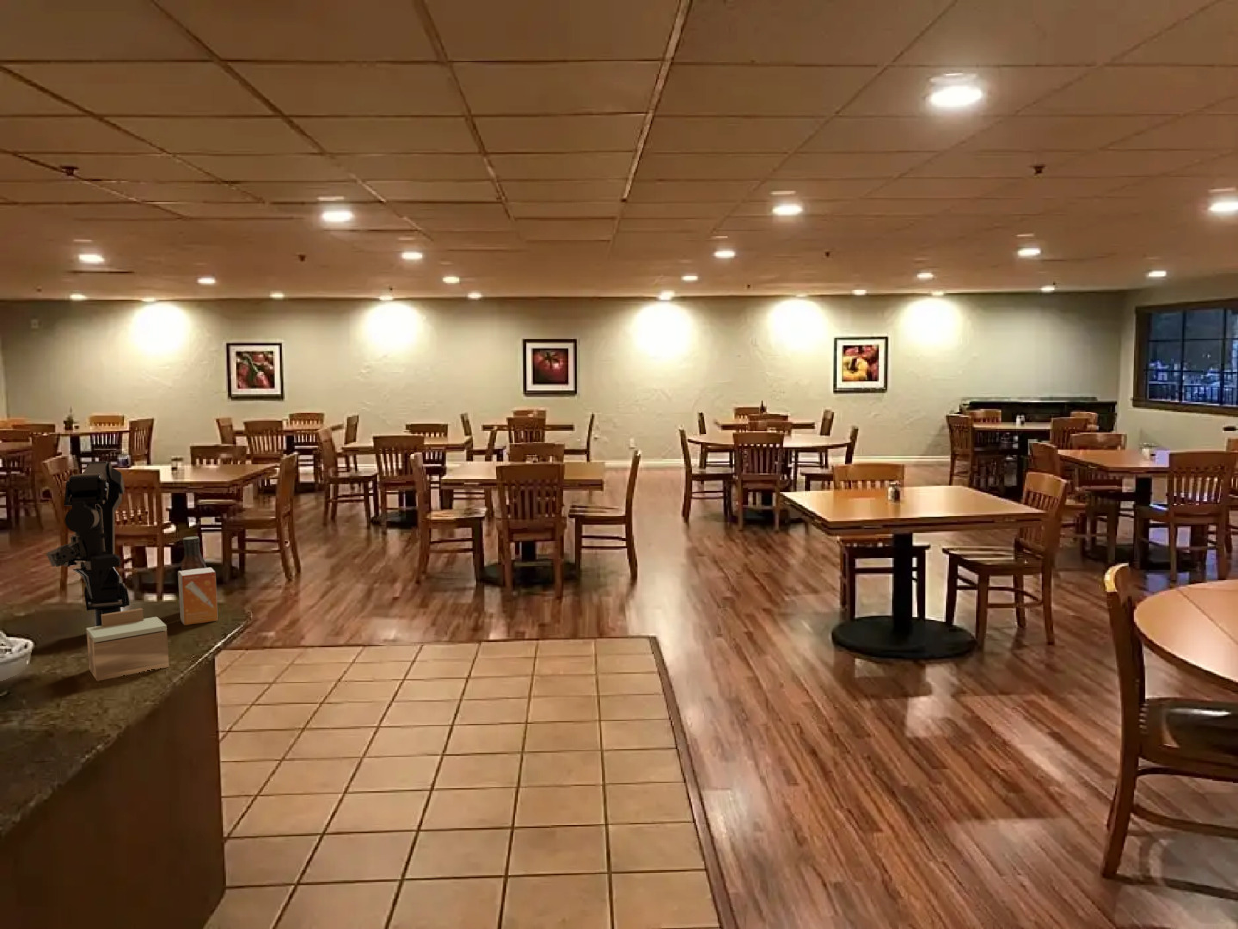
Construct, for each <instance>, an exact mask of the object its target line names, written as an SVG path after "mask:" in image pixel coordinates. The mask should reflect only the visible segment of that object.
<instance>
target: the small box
mask: <svg viewBox="0 0 1238 929" xmlns="http://www.w3.org/2000/svg"><path fill="white" fill-rule="evenodd" d="M177 577H178V578H177V580H178V581H177V582H178V596H179V597H178V600H179V602H178V603H179V615H180V621H181V622H182V624H183V625H184V626H188V625H194V624H195V625H196V624H202V623H209V622H217V621H218V620H219V619H218V616H219V615H218V598H217V597H218V596H217V577H216V570H214V568H213V567H207V568H201V569H191V570H184V571H182V570H178V571H177Z"/></svg>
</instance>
